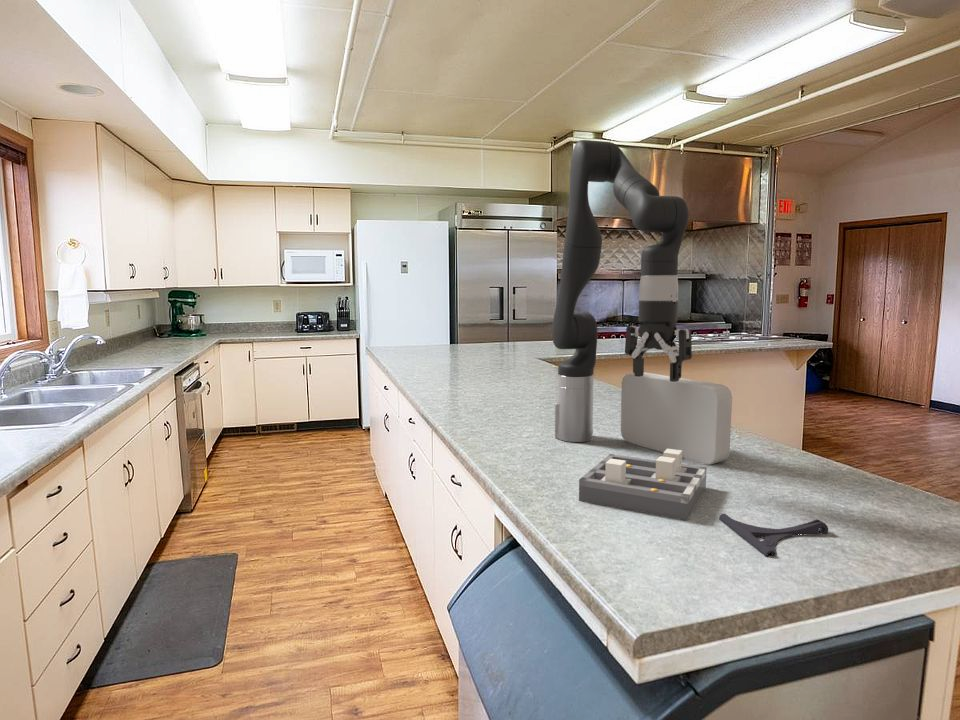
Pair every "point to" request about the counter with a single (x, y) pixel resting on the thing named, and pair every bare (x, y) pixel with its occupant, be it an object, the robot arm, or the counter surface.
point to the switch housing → (645, 488)
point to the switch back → (678, 456)
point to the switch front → (616, 472)
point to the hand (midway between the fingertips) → (656, 378)
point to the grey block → (677, 416)
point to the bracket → (770, 533)
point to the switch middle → (666, 469)
